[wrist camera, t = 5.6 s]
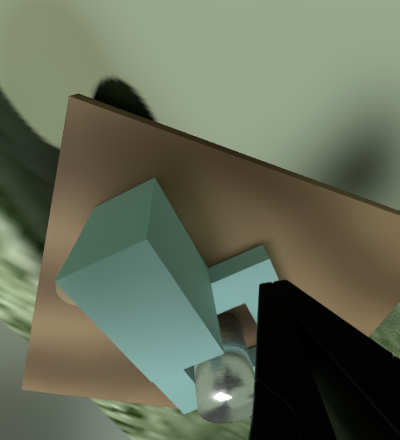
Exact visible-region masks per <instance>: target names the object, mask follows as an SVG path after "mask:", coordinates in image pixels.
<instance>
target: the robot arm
mask: <svg viewBox="0 0 400 440" xmlns="http://www.w3.org/2000/svg"><path fill="white" fill-rule="evenodd" d="M254 381H255V382H254V394H253V407H252V419H251V425H250V432H249V438H248V440H400V359H399V358H398V357H396V356H394V357H393V354H392V353H391V352H389V351H388V350H386V349H385V348H383V347H382V346H381V345H379V344H378V343H376V342H375V341H373V340H372V339H371V338H369V337H368V336H366V335H365V334H364V333H362V332H361V331H359V330H358V329H356V328H355V327H354V326H352V325H351V324H349V323H348V322H346V321H345V320H344V319H342V318H341V317H339V316H338V315H336V314H335V313H334V312H332V311H331V310H329V309H328V308H327V307H325V306H324V305H322V304H321V303H319V302H318V301H317V300H315V299H314V298H312V297H311V296H309V295H308V294H307V293H305V292H304V291H302V290H301V289H299V288H298V287H297V286H295V285H294V284H292V283H291V282H290V281H288V280H286V279H284V280H278V281H274V282H273V283H272V282H266V283H261V284H259V293H258V314H257V335H256V356H255V377H254Z"/></svg>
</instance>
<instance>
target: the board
mask: <svg viewBox="0 0 400 440" xmlns="http://www.w3.org/2000/svg"><path fill="white" fill-rule="evenodd" d="M153 178H155V179H156V180H157V182H158V184H159V185H160V187H161V189H162V191H163V192H164V194H165V196H166V197H167V199H168V201H169V202H170V204H171V206H172V208H173V209H174V211H175V213H176V214H177V216H178V218H179V220H180V221H181V223H182V225H183V226H184V228H185V230H186V231H187V233H188V235H189V237H190V238H191V240H192V242H193V243H194V245H195V247H196V249H197V250H198V252H199V254H200V255H201V257H202V259H203V260H204V262H205V264H206V266H207V267H208V268H210V267H212V266H215V265H217V264H219V263H221V262H224V261H226V260H228V259H231V258H233V257H235V256H237V255H240V254H242V253H244V252H247V251H249V250H251V249H253V248H256V247H258V246H260V245H263V247H264V249H265V251H266V253H267V255H268V257H269V258H270V261H271V263H272V265H273V268H274V270H275V272H276V274H277V277H278V279H279V280H284V279H286V280H288V281H290V282H291V283H292V284H294V285H295V286H297V287H298V288H299V289H301V290H302V291H304V292H305V293H307V294H308V295H309V296H311V297H312V298H314V299H315V300H317V301H318V302H319V303H321V304H322V305H324V306H325V307H327V308H328V309H329V310H331V311H332V312H334V313H335V314H336V315H338V316H339V317H341V318H342V319H344V320H345V321H346V322H348V323H349V324H351V325H352V326H354V327H355V328H356V329H358V330H359V331H361V332H362V333H364V334H365V335H366V336H368V337H369V336H370V335H371V334H372V333H373V331H374V330H375V329H376V328H377V327H378V326H379V325H380V323H381V322H382V321H383V320H384V319H385V318H386V317H387V315H388V314H389V313H390V312H391V311H392V310H393V309H394V307H395V306H396V305H397V304H398V303H399V302H400V211H398V210H395V209H392V208H390V207H387V206H384V205H381V204H379V203H376V202H373V201H370V200H368V199H365V198H362V197H359V196H357V195H354V194H351V193H348V192H346V191H343V190H340V189H338V188H335V187H332V186H329V185H326V184H324V183H321V182H318V181H316V180H313V179H310V178H308V177H304V176H302V175H299V174H297V173H294V172H291V171H288V170H285V169H283V168H280V167H277V166H275V165H272V164H269V163H267V162H264V161H261V160H258V159H256V158H253V157H250V156H247V155H245V154H242V153H239V152H236V151H234V150H231V149H228V148H225V147H223V146H220V145H217V144H215V143H212V142H209V141H206V140H204V139H201V138H198V137H196V136H193V135H190V134H187V133H185V132H182V131H179V130H176V129H173V128H171V127H168V126H165V125H163V124H160V123H157V122H155V121H152V120H149V119H146V118H144V117H141V116H138V115H135V114H133V113H130V112H127V111H124V110H122V109H119V108H116V107H114V106H111V105H108V104H105V103H103V102H100V101H97V100H94V99H92V98H89V97H86V96H83V95H81V94H75V95H71V96H69V100H68V106H67V113H66V119H65V125H64V131H63V137H62V143H61V149H60V155H59V161H58V168H57V174H56V180H55V186H54V192H53V198H52V204H51V211H50V217H49V223H48V229H47V235H46V241H45V248H44V254H43V260H42V266H41V272H40V278H39V284H38V291H37V297H36V303H35V309H34V315H33V321H32V327H31V334H30V340H29V346H28V352H27V359H26V365H25V370H24V377H23V383H22V390H29V391H38V392H46V393H54V394H63V395H72V396H80V397H88V398H96V399H105V400H113V401H122V402H130V403H139V404H147V405H155V406H164V407H172V408H177V407H176V406H175V405H174V404H173V402H172V401H171V400H170V399H169V398H168V397H167V396H166V395H165V394H164V393H163V392H162V391H161V390H160V389H159V388H158V387H157V386H156V385H155V384H154V383H153V382H151V381H150V380H149V379H148V378H147V377H146V376H145V375H144V374H143V373H142V372H141V371H140V370H139V369H138V368H137V367H136V366H135V365H134V364H133V363H132V362H131V361H130V360H129V359H128V358H127V357H126V356H125V354H124V353H123V352H122V351H121V350H120V349H119V348H118V347H117V346H116V345H115V344H114V343H113V342H112V341H111V340H110V339H109V338H108V337H107V336H106V335H105V334H104V333H103V332H102V331H101V330H100V329H99V328H98V326H97V325H96V324H95V323H94V322H93V321H92V320H91V319H90V318H89V317H88V316H87V315H86V314H85V313H84V312H83V311H82V310H81V309H80V308H79V307H78V306H74V305H71V304H68V303H66V302H65V301H63V300H62V299H61V298H60V297H59V296H58V294H57V292H56V283H55V280H56V278H57V276H58V274H59V273H60V271H61V269H62V267H63V265H64V263H65V261H66V260H67V258H68V256H69V254H70V252H71V250H72V248H73V247H74V245H75V243H76V241H77V239H78V237H79V235H80V234H81V232H82V230H83V228H84V226H85V224H86V223H87V221H88V219H89V217H90V215H91V213H92V211H93V210H94V208H95V207H96V206H98V205H100V204H102V203H104V202H106V201H108V200H110V199H112V198H114V197H116V196H118V195H121V194H123V193H125V192H127V191H129V190H131V189H133V188H135V187H137V186H139V185H141V184H143V183H145V182H147V181H149V180H151V179H153ZM225 312H226V313H229V314H232V315H234V316H235V317H236V318H237V319H238V320H239V321H240V323H241V327H242V331H243V334H244V338H245V341H246V345H247V349H251V348H253V347H256V335H257V324H256V322H255V320H254V318H253V316H252V315H251V313H250V311H249V309H248V307H247V305H246V304H245V303H244V304H241V305H239V306H237V307H234V308H232V309H229V310H227V311H225ZM197 411H198V410H197ZM249 417H252V415H250V416H249Z"/></svg>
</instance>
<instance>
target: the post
mask: <svg viewBox="0 0 400 440" xmlns="http://www.w3.org/2000/svg"><path fill="white" fill-rule="evenodd" d="M217 317H218V323H219V328H220V333H221V338H222V343H223V349H224V354H222V355H219V356H217V357H214V358H212V359H209V360H207V361H204V362H201V363H199V364H196V365H194V374H195V386H196V399H197V410H198V413H199V415H200V416H201V417H202V418H204V419H205V420H207V421H210V422H214V423H231V422H236V421H240V420H242V419H245V418H247V417H249V416H250V415H252V407H253V394H254V382H255V381H254V377H255V374H254V370H253V367H252V363H251V359H250V356H249V352H248V349H247V345H246V341H245V338H244V334H243V331H242V327H241V323H240V321H239V320H238V319H237V318H236V317H235V316H234V315H232V314H229V313H226V312H222V313H220V314H217Z"/></svg>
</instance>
